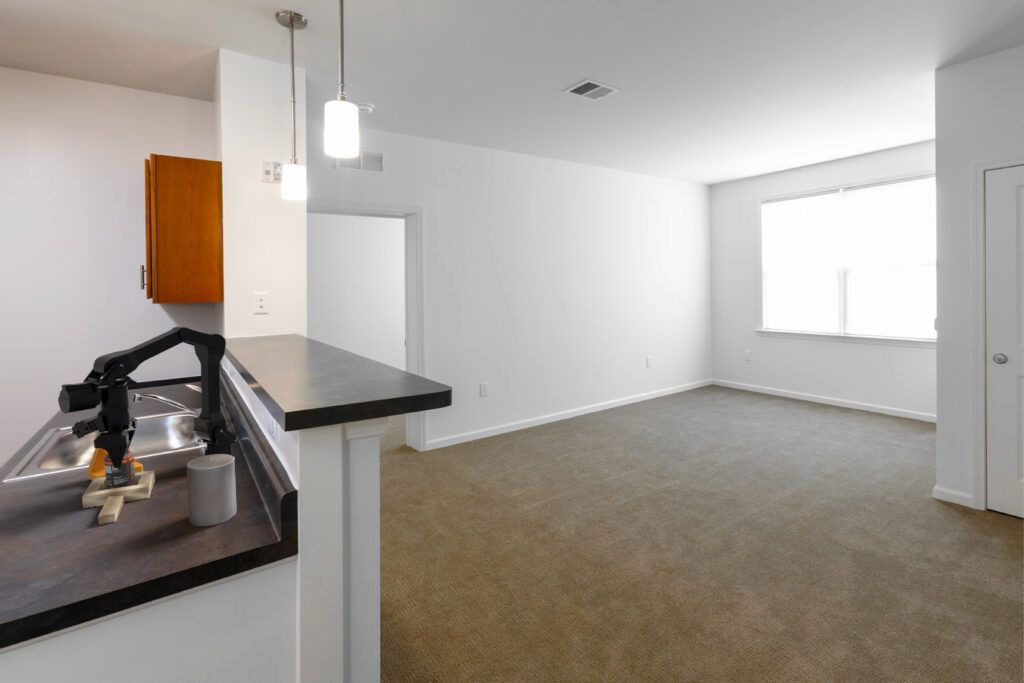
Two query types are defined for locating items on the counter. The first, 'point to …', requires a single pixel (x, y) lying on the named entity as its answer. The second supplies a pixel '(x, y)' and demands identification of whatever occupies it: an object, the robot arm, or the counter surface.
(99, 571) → the counter surface
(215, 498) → the pillar candle
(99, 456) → the bracket
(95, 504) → the wooden frame with handle
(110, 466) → the supplement bottle
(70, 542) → the counter surface
